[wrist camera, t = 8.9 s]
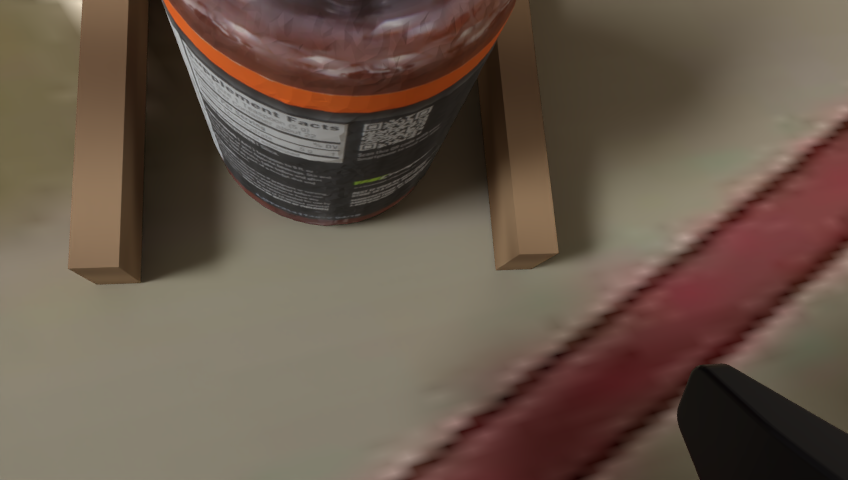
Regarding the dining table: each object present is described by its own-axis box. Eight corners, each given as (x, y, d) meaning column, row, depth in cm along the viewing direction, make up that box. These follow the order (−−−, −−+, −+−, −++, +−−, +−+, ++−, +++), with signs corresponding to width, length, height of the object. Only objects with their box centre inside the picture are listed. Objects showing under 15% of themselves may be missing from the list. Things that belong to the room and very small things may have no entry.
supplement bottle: (315, -12, 19) (336, -581, 8) (476, 121, 19) (720, -266, 8) (161, 131, 17) (-86, -347, 6) (338, 279, 17) (405, 64, 6)
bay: (531, 268, 18) (558, 253, 16) (96, 284, 16) (67, 268, 14) (498, -37, 20) (518, -84, 18) (111, -60, 18) (88, -114, 16)
